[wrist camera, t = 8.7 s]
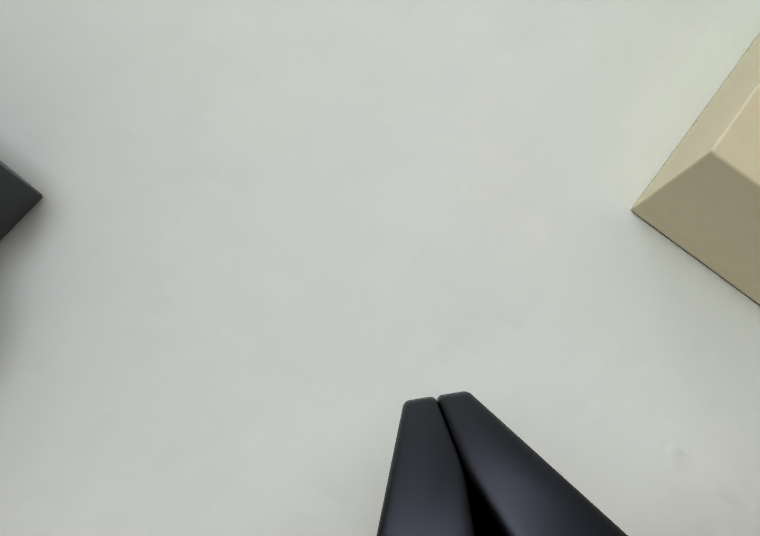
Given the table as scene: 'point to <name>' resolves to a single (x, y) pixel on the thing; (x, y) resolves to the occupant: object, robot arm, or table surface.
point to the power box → (716, 182)
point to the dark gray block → (14, 198)
